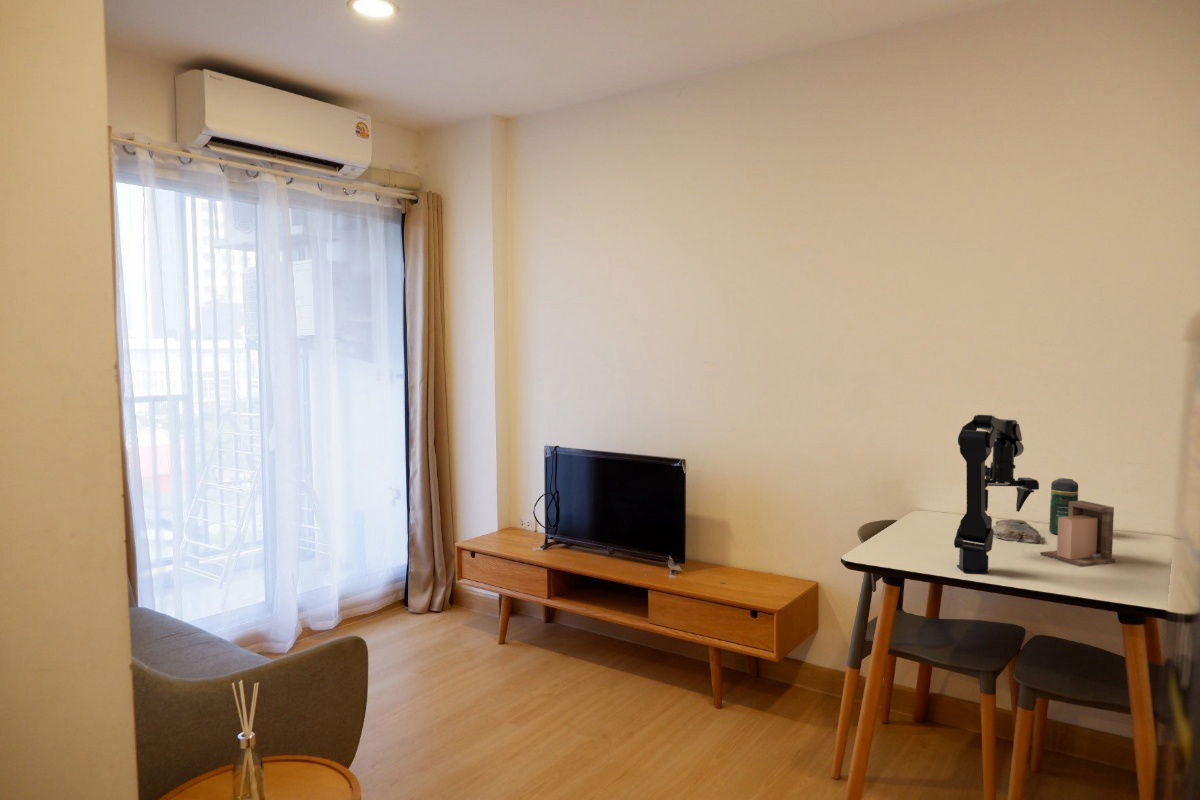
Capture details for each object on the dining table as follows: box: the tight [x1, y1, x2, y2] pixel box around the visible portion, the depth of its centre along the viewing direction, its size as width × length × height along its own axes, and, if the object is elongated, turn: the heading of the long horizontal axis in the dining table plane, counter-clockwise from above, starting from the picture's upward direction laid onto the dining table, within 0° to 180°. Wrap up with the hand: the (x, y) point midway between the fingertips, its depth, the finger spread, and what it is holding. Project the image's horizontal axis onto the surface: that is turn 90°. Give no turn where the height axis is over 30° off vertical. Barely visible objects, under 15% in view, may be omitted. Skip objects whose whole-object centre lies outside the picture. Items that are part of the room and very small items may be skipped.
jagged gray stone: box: [992, 519, 1041, 544], centre depth 251 cm, size 14×5×20 cm
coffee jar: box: [1048, 477, 1079, 535], centre depth 253 cm, size 10×8×19 cm
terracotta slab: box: [1056, 515, 1098, 559], centre depth 222 cm, size 10×4×12 cm, turn 107°
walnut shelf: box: [1040, 500, 1117, 567], centre depth 222 cm, size 14×13×16 cm
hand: (1001, 511), depth 228 cm, fingers open, 9 cm apart
